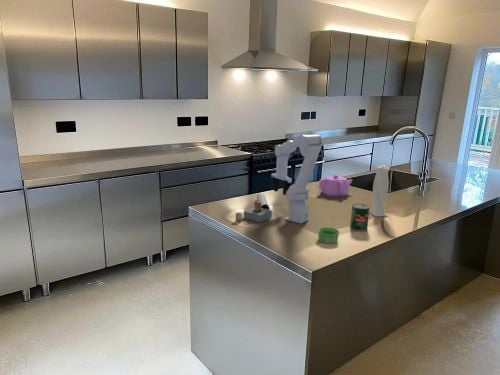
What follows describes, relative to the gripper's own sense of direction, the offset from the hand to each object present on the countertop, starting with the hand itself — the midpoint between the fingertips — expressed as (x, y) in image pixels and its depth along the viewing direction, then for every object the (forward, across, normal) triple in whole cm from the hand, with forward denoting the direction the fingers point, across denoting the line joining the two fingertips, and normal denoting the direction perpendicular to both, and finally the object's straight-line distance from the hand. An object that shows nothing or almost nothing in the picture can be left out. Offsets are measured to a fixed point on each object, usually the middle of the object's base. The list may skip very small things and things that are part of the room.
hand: (280, 192), depth 197 cm
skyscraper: (+10, +33, +40) cm, 52 cm away
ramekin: (+10, +43, -8) cm, 45 cm away
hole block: (+9, +4, -17) cm, 20 cm away
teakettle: (+10, -8, +50) cm, 52 cm away
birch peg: (+10, +4, -28) cm, 30 cm away
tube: (+10, -10, -4) cm, 15 cm away
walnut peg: (+9, +4, -18) cm, 20 cm away
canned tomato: (+10, +40, +16) cm, 44 cm away
